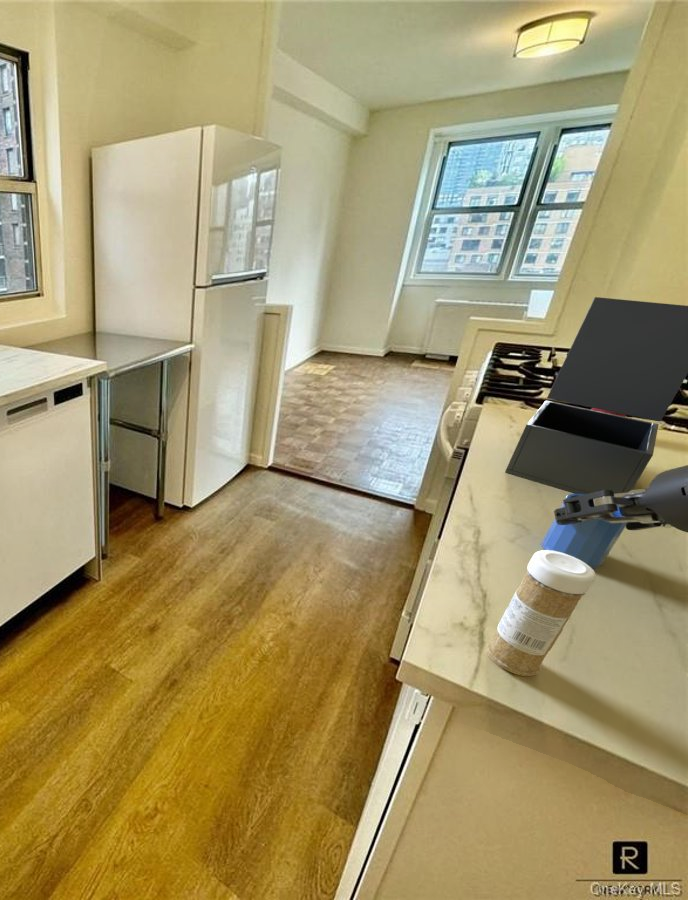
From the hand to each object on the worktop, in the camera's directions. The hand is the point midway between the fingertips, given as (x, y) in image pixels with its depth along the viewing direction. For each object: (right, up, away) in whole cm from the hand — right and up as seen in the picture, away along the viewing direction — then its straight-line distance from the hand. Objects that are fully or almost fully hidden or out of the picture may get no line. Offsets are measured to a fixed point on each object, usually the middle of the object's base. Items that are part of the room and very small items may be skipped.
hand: (592, 520), depth 66 cm
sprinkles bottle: (-23, -13, -13) cm, 30 cm away
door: (+29, +26, +22) cm, 45 cm away
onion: (+43, +13, +40) cm, 61 cm away
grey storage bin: (+21, +6, +24) cm, 33 cm away
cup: (0, -5, +3) cm, 6 cm away
